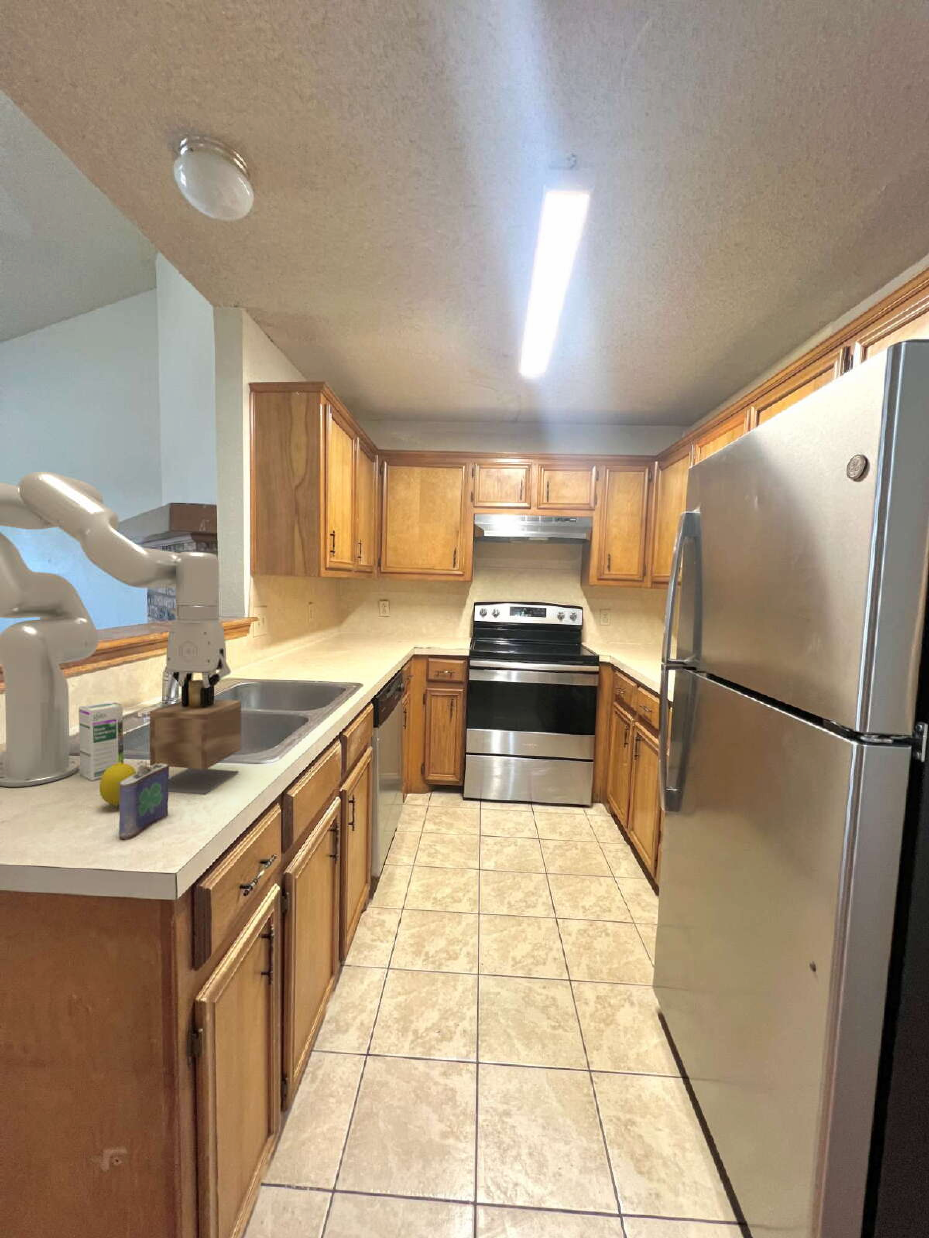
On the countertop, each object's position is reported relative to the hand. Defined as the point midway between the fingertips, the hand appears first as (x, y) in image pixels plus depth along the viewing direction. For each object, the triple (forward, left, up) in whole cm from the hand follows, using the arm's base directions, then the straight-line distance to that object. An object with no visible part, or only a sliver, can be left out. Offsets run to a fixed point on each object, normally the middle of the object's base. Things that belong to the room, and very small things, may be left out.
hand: (197, 704), depth 96 cm
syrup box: (-21, 0, -16) cm, 26 cm away
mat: (0, 0, -16) cm, 16 cm away
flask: (+3, -18, -16) cm, 24 cm away
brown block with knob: (0, 0, -11) cm, 11 cm away
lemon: (-6, -13, -16) cm, 21 cm away
